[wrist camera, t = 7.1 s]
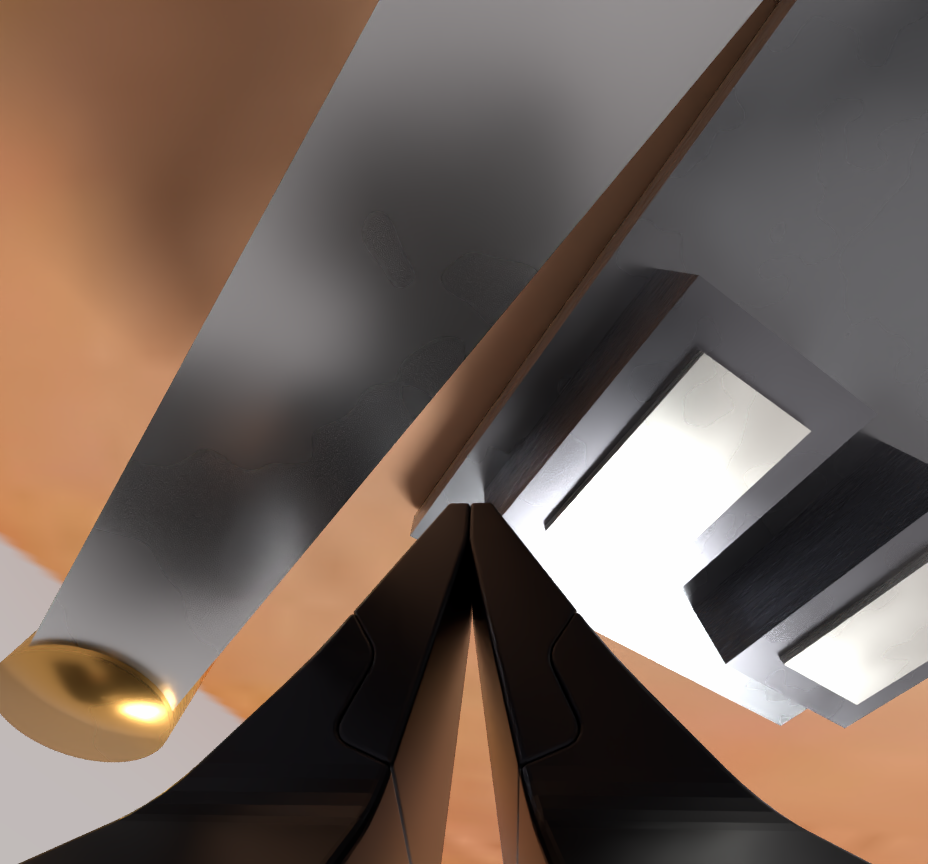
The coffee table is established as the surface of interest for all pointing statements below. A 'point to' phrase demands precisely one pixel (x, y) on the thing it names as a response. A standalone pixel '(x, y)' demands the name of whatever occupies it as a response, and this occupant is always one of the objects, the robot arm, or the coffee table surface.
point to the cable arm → (347, 327)
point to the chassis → (748, 386)
